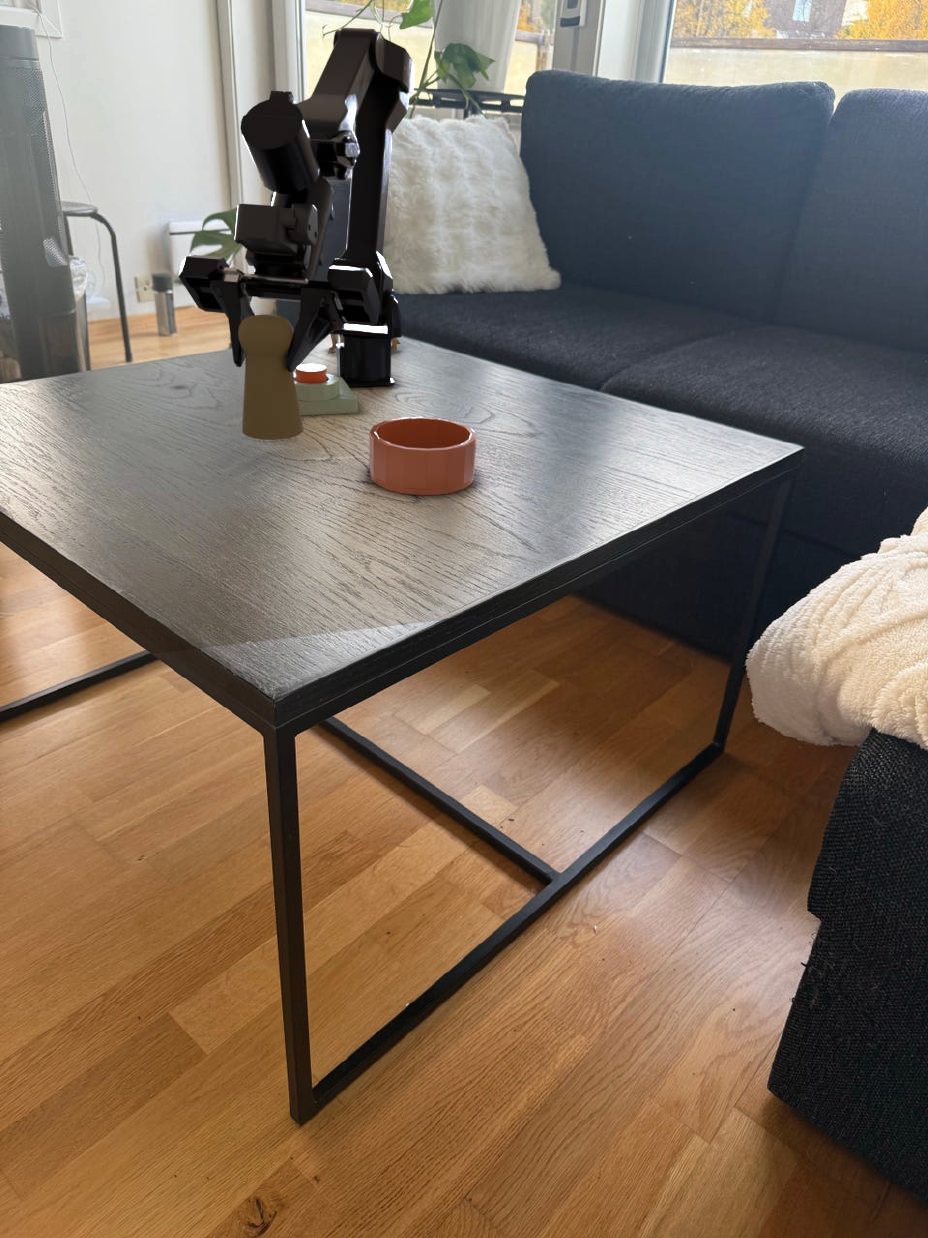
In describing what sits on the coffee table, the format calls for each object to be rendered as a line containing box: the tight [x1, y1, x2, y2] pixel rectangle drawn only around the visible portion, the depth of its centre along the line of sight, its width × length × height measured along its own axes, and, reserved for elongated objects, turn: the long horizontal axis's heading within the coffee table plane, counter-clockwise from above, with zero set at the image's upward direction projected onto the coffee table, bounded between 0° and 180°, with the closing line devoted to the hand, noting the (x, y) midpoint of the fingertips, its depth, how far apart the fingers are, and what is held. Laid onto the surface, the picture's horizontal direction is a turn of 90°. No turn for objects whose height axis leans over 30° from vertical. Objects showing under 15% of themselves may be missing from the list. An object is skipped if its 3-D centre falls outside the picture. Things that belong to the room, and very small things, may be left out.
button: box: [295, 363, 327, 384], centre depth 106 cm, size 4×4×2 cm
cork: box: [238, 314, 304, 441], centre depth 86 cm, size 6×6×11 cm
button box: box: [293, 372, 359, 416], centre depth 109 cm, size 10×10×4 cm
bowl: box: [368, 416, 477, 496], centre depth 88 cm, size 10×10×4 cm
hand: (262, 367), depth 84 cm, fingers closed on cork, 5 cm apart
